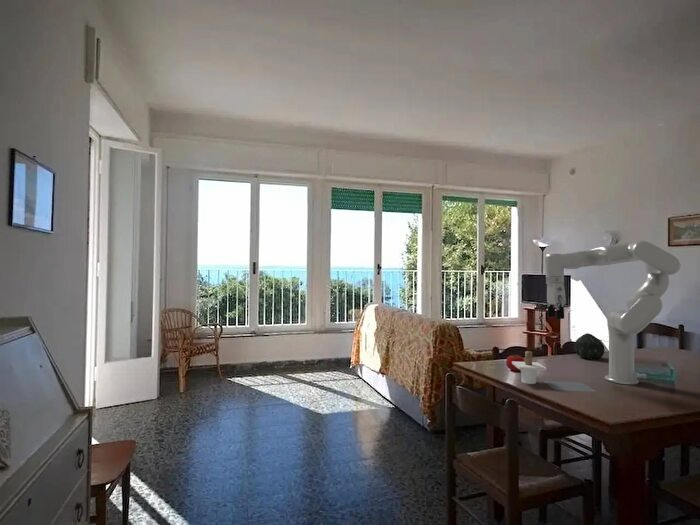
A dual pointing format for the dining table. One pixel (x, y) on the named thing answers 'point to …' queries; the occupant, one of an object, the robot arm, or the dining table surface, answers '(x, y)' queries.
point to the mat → (569, 386)
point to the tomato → (516, 359)
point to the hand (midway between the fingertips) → (555, 317)
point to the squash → (589, 347)
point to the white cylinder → (529, 376)
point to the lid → (528, 363)
